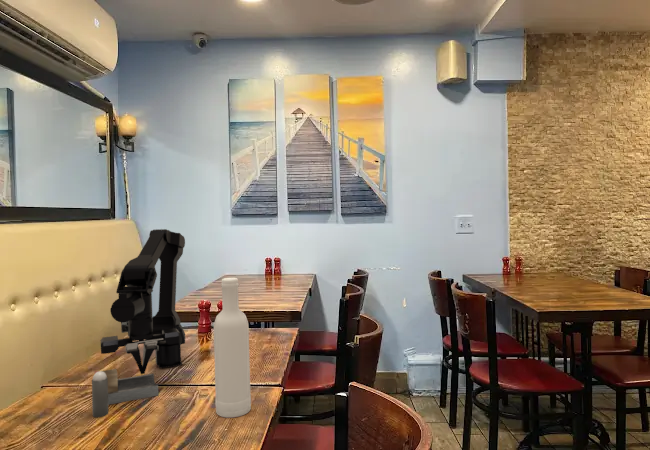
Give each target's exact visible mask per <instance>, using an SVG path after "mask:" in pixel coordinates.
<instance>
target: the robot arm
mask: <svg viewBox="0 0 650 450" xmlns="http://www.w3.org/2000/svg"><path fill="white" fill-rule="evenodd" d="M185 245H186V239H185V236H184V235H182V234H181V233H180V232H176V231H175V232H174V231H171V230H169V229H167V228H166V229H165V228H164V229H162V228H161V229H157V228H156V229H153V230H150V231H149V236H148V239H147V240H146V242H145V244H144V246H143V247H142V249H141V250H140V252H139V254H138V255H137V257H135V258H132V259H130V260H129V261H128V262H127V263H126V265H124V267H123V268H122V269H121V273H120V276H119V281H118V285H117V287H116V291H115V292H116V294H118V298H117V299H116V300H114V301H113V302H112V304H111V307H110V315H111V317H112V318H113V319H114V320H115V321H117V322H119V323H120V329H121V333H124V334H125V333H127V336H128V337H126V338H119V337H118V335H112V336H106V337H105V336H103V337H102V338H101V339H100V353H101V354H102V355H105V354H112V353H116V352H117V351H118V350H119V348H123V347H125V352H126V354H131V356H132V358H133V359H134V360H135V362H136V364H137V367H138V369H139V370H138V371H139V373H140V375H145V373H146V369H147V367H148V364H149V361H150V359H151V357H152V355H153V353H155V363H156V365H157V366H158V368H159V369H165V368H166V369H167V368H171V367H172V368H173V367H178V366H182V365H183V362H182V355H181V353H182V352H181V348H182V347H181V346H182V345H184V344H186V333H185V330H184V328H183V326H182V325H181V318H180V316H179V314H178V312H177V311H176V296H177V295H176V294H177V293H176V292H177V273H178V272H177V269H178V262H179V260H180V259H181V257H182V256H183V255H184V254H183V253H184V248H185ZM158 261H160V269H159V270H160V271H159V272H160V274H159V275H160V276H159V294H158V311H157V312H156V313H155V315H153V295H152V293H153V291H154V286H155V283H156V280H157V276H158V273H157V270H156V265H157V263H158ZM139 345H143V349H142V350H143V352H142V357H141V352H140V347H139Z"/></svg>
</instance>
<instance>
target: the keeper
mask: <svg viewBox="0 0 650 450" xmlns="http://www.w3.org/2000/svg"><path fill="white" fill-rule="evenodd" d="M102 371H103V372H104V373H105V374H106V376H107V378H108V393H110V392H116V391H118V379H119V378H118V369H117V368H112V369H107V370H102Z"/></svg>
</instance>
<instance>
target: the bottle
mask: <svg viewBox="0 0 650 450" xmlns="http://www.w3.org/2000/svg"><path fill="white" fill-rule="evenodd" d="M220 285H221V287H220V288H221V296H222V297H221V300H222V310H221V311H220V312H219V313H218V314H217V315H216V317H215V320H214V323H213V346H214V347H213V349H214V350H213V352H214V380H215V381H214V383H215V384H214V386H215V391H214V392H215V401H214V402H215V405H214V406H215V414H217V415H218V416H220V417H222V418H237V417H242V416H244V415H246V414H248V413H249V412H250V411H251V410H252V406H251V404H252V398H251V397H252V394H251V370H250V367H251V366H250V335H249V334H250V331H249V329H250V328H249V321H248V318H247V316H246V313H244V312H243V311H242V310H241V309H240V306H239V304H240V302H239V301H240V300H239V299H240V298H239V286H240V284H239V278H237V277H224V278H222V279H221V283H220Z"/></svg>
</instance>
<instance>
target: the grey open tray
mask: <svg viewBox="0 0 650 450" xmlns="http://www.w3.org/2000/svg"><path fill="white" fill-rule="evenodd" d="M99 371H100V370H95V371H94V374H95V373H96V372H99ZM156 396H158V397H159V384H156V382H155V373H148V374H140V375H134V376H130V377H124V378H118V391H116V392H110V393H108V406H109V405H113V404H119V403H120V404H121V403H125V402H129V401H130V402H131V401H135V400H136V401H137V400H142V399H147V398H151V397H152V398H153V397H156Z"/></svg>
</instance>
